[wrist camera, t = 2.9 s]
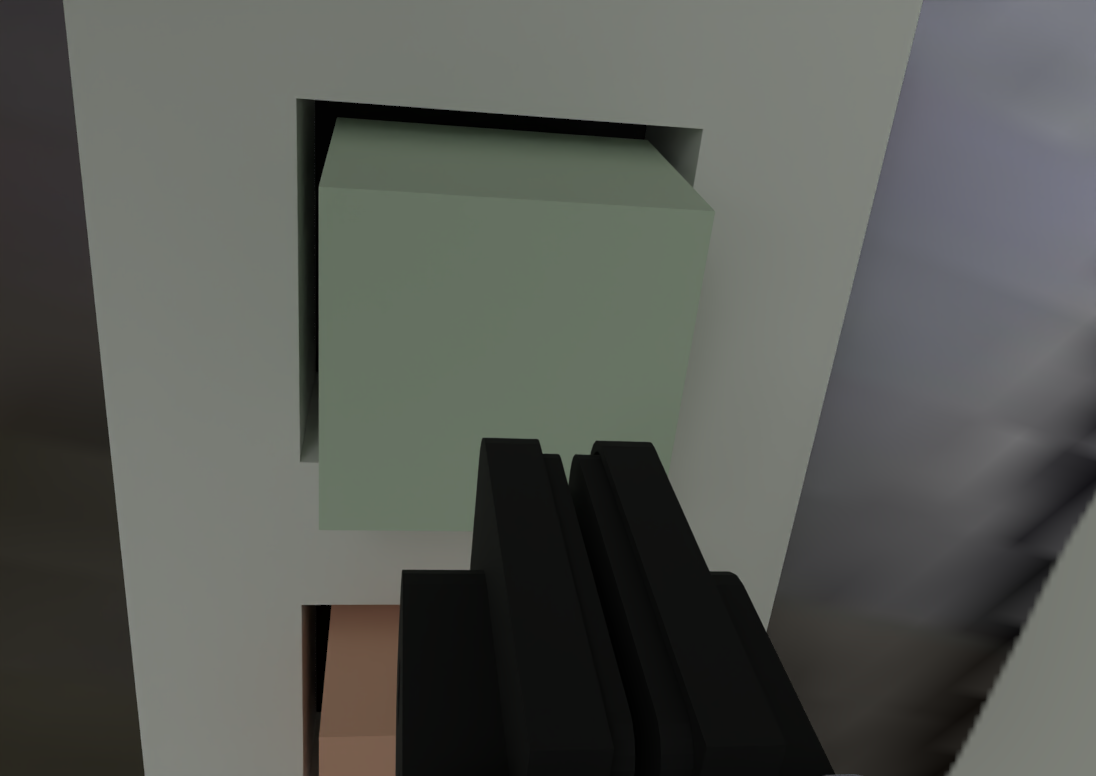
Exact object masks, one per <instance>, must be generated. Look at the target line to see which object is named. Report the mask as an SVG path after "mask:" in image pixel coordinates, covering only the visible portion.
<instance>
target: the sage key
mask: <svg viewBox="0 0 1096 776" xmlns="http://www.w3.org/2000/svg"><path fill="white" fill-rule="evenodd" d="M714 215H715V211H714V210H713V209H712V207H711V206H710V205H709V204H708V203H707V202H706V201H705V200H704V199H703V198H702V197H701V196H700V195H699V194H698V193H697V192H696V191H695V189H694V188H693V187H692V186H691V185H690V184H689V183H688V182H687V181H686V180H685V179H684V178H683V177H682V176H681V175H680V174H679V173H678V172H677V170H676V169H675V168H674V167H673V166H672V165H671V164H670V163H669V162H668V161H667V160H666V159H665V158H664V157H663V156H662V155H661V154H660V153H659V151H658V150H657V149H656V148H655V147H654V146H653V145H652V144H651V143H650V142H649V141H648V140H640V139H627V138H613V137H599V136H586V135H572V134H558V133H545V132H531V131H517V130H504V129H490V128H476V127H463V126H449V125H435V124H422V123H408V122H394V121H381V120H367V119H353V118H340V117H337V120H336V123H335V127H334V131H333V135H332V138H331V142H330V146H329V150H328V153H327V157H326V161H325V165H324V168H323V172H322V176H321V180H320V183H319V530H367V531H473V526H474V514H475V502H476V490H477V478H478V465H479V454H480V446H481V441H482V438H520V439H539V442H540V445H541V449H542V453H543V454H560V457H561V460H562V463H563V467H564V471H565V474H566V478H567V482H568V484H569V476H570V469H571V463H572V459H573V457H574V455H575V454H583V455H590V454H591V450H592V447H593V444H594V443H595V441H633V442H651V443H652V444H653V446H654V447H655V449H656V452H657V454H658V456H659V458H660V461H661V463H662V465H663V467H664V470H665V472H666V474H667V476H668V473H669V468H670V462H671V457H672V451H673V445H674V440H675V434H676V428H677V423H678V417H679V412H680V406H681V400H682V395H683V389H684V383H685V378H686V372H687V367H688V361H689V355H690V350H691V344H692V339H693V333H694V327H695V322H696V316H697V310H698V305H699V299H700V294H701V288H702V282H703V277H704V271H705V266H706V260H707V254H708V249H709V243H710V237H711V232H712V226H713V221H714Z"/></svg>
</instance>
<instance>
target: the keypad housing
mask: <svg viewBox="0 0 1096 776" xmlns="http://www.w3.org/2000/svg"><path fill="white" fill-rule="evenodd" d="M922 3H923V0H63V6H64V15H65V25H66V34H67V44H68V53H69V62H70V72H71V81H72V91H73V100H74V110H75V119H76V129H77V138H78V148H79V157H80V167H81V176H82V185H83V195H84V204H85V214H86V223H87V233H88V242H89V252H90V261H91V271H92V280H93V290H94V299H95V308H96V318H97V327H98V337H99V346H100V356H101V365H102V375H103V384H104V394H105V403H106V413H107V422H108V431H109V441H110V450H111V460H112V469H113V479H114V488H115V498H116V507H117V517H118V526H119V535H120V545H121V554H122V564H123V573H124V583H125V592H126V602H127V611H128V621H129V630H130V640H131V649H132V658H133V668H134V677H135V687H136V696H137V706H138V715H139V725H140V734H141V744H142V753H143V763H144V772H145V776H319V731H320V721H321V712H316V605H400V592H401V576H402V570H470V562H471V550H472V538H473V531H367V530H319V372H316V318H315V100H326V101H339V102H352V103H365V104H379V105H392V106H405V107H418V108H431V109H445V110H458V111H471V112H484V113H498V114H511V115H524V116H537V117H551V118H564V119H577V120H590V121H603V122H617V123H630V124H643V125H646V132H645V139H644V140H648V141H649V142H650V143H651V144H652V145H653V146H654V147H655V148H656V149H657V150H658V151H659V153H660V154H661V155H662V156H663V157H664V158H665V159H666V160H667V161H668V162H669V163H670V164H671V165H672V166H673V167H674V168H675V169H676V170H677V172H678V173H679V174H680V175H681V176H682V177H683V178H684V179H685V180H686V181H687V182H688V183H689V184H690V185H691V186H692V187H693V188H694V189H695V191H696V192H697V193H698V194H699V195H700V196H701V197H702V198H703V199H704V200H705V201H706V202H707V203H708V204H709V205H710V206H711V207H712V209H713V210H714V211H715V215H714V221H713V226H712V232H711V237H710V243H709V249H708V254H707V260H706V266H705V271H704V277H703V282H702V288H701V294H700V299H699V305H698V310H697V316H696V322H695V327H694V333H693V339H692V344H691V350H690V355H689V361H688V367H687V372H686V378H685V383H684V389H683V395H682V400H681V406H680V412H679V417H678V423H677V428H676V434H675V440H674V445H673V451H672V457H671V462H670V468H669V473H668V479H669V481H670V483H671V485H672V488H673V490H674V492H675V494H676V497H677V499H678V501H679V503H680V506H681V508H682V510H683V512H684V515H685V517H686V519H687V521H688V524H689V526H690V528H691V530H692V533H693V535H694V537H695V539H696V542H697V544H698V546H699V548H700V551H701V553H702V555H703V557H704V560H705V562H706V564H707V566H708V569H709V571H730V572H732V573H734V574H736V575H737V576H738V577H739V579H740V580H741V582H742V583H743V585H744V587H745V589H746V591H747V593H748V595H749V597H750V599H751V601H752V603H753V605H754V608H755V610H756V612H757V614H758V616H759V618H760V620H761V622H762V624H763V626H764V628H765V630H766V632H767V628H768V624H769V620H770V616H771V612H772V608H773V603H774V599H775V595H776V591H777V587H778V583H779V579H780V575H781V571H782V567H783V563H784V559H785V555H786V551H787V547H788V543H789V539H790V535H791V531H792V527H793V523H794V519H795V515H796V511H797V507H798V503H799V499H800V495H801V491H802V487H803V483H804V479H805V475H806V470H807V466H808V462H809V458H810V454H811V450H812V446H813V442H814V438H815V434H816V430H817V426H818V422H819V418H820V414H821V410H822V406H823V402H824V398H825V394H826V390H827V386H828V382H829V378H830V374H831V370H832V366H833V362H834V358H835V354H836V350H837V346H838V342H839V337H840V333H841V329H842V325H843V321H844V317H845V313H846V309H847V305H848V301H849V297H850V293H851V289H852V285H853V281H854V277H855V273H856V269H857V265H858V261H859V257H860V253H861V249H862V245H863V241H864V237H865V233H866V229H867V225H868V221H869V217H870V213H871V209H872V204H873V200H874V196H875V192H876V188H877V184H878V180H879V176H880V172H881V168H882V164H883V160H884V156H885V152H886V148H887V144H888V140H889V136H890V132H891V128H892V124H893V120H894V116H895V112H896V108H897V104H898V100H899V96H900V92H901V88H902V84H903V80H904V76H905V72H906V67H907V63H908V59H909V55H910V51H911V47H912V43H913V39H914V35H915V31H916V27H917V23H918V19H919V15H920V11H921V7H922Z"/></svg>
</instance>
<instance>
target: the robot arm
mask: <svg viewBox="0 0 1096 776" xmlns="http://www.w3.org/2000/svg"><path fill="white" fill-rule="evenodd" d="M395 776H861V775H856V774H845V775H835V773H834V771H833V769H832V767H831V765H830V763H829V761H828V759H827V756H826V754H825V752H824V750H823V748H822V746H821V744H820V742H819V740H818V738H817V736H816V734H815V732H814V730H813V728H812V725H811V723H810V721H809V719H808V717H807V715H806V713H805V711H804V709H803V707H802V705H801V703H800V701H799V699H798V696H797V694H796V692H795V690H794V688H793V686H792V684H791V682H790V680H789V678H788V676H787V674H786V672H785V670H784V668H783V665H782V663H781V661H780V659H779V657H778V655H777V653H776V651H775V649H774V647H773V645H772V643H771V641H770V639H769V637H768V634H767V632H766V630H765V628H764V626H763V624H762V622H761V620H760V618H759V616H758V614H757V612H756V610H755V608H754V605H753V603H752V601H751V599H750V597H749V595H748V593H747V591H746V589H745V587H744V585H743V583H742V582H741V580H740V579H739V577H738V576H737V575H736V574H734V573H732V572H730V571H709V569H708V566H707V564H706V562H705V560H704V557H703V555H702V553H701V551H700V548H699V546H698V544H697V542H696V539H695V537H694V535H693V533H692V530H691V528H690V526H689V524H688V521H687V519H686V517H685V515H684V512H683V510H682V508H681V506H680V503H679V501H678V499H677V497H676V494H675V492H674V490H673V488H672V485H671V483H670V481H669V479H668V476H667V474H666V472H665V470H664V467H663V465H662V463H661V461H660V458H659V456H658V454H657V452H656V449H655V447H654V446H653V444H652V443H651V442H633V441H595V443H594V444H593V447H592V450H591V454H590V455H583V454H575V455H574V457H573V459H572V463H571V469H570V476H569V484H568V482H567V478H566V474H565V471H564V467H563V463H562V460H561V457H560V454H543V453H542V449H541V445H540V442H539V439H520V438H482V441H481V446H480V454H479V465H478V478H477V490H476V502H475V514H474V526H473V538H472V550H471V562H470V570H402V576H401V592H400V613H399V635H398V661H397V696H396V770H395Z"/></svg>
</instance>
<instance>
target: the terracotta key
mask: <svg viewBox="0 0 1096 776" xmlns="http://www.w3.org/2000/svg"><path fill="white" fill-rule="evenodd" d="M399 613H400V605H332V606H331V616H330V627H329V637H328V648H327V658H326V669H325V679H324V689H323V700H322V710H321V721H320V731H319V776H395V770H396V696H397V661H398V635H399Z"/></svg>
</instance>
